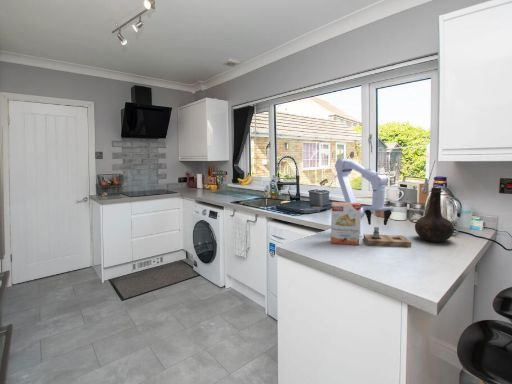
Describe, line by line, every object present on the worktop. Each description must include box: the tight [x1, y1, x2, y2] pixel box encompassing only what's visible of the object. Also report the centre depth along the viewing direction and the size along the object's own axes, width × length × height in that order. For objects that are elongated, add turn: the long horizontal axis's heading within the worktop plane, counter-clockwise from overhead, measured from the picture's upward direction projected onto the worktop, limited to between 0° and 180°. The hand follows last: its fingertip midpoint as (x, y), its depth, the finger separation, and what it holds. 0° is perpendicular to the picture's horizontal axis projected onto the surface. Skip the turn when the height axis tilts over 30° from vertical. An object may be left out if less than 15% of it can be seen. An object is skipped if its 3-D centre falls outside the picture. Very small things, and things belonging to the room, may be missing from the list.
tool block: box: [362, 233, 412, 248], centre depth 149 cm, size 20×12×2 cm, turn 81°
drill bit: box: [372, 226, 380, 239], centre depth 150 cm, size 3×3×8 cm
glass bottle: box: [414, 186, 455, 243], centre depth 152 cm, size 18×18×28 cm
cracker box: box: [330, 201, 362, 246], centre depth 148 cm, size 14×6×21 cm, turn 76°
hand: (377, 224), depth 149 cm, fingers open, 7 cm apart
